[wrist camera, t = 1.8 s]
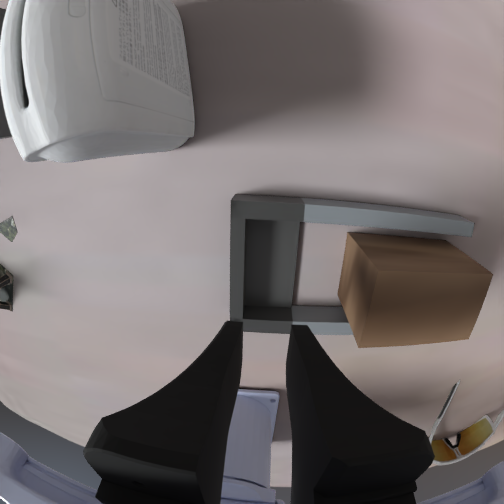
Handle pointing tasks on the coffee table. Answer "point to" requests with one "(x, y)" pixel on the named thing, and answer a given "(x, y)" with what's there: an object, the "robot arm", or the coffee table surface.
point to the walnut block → (409, 290)
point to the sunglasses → (462, 437)
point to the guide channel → (285, 254)
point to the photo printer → (95, 78)
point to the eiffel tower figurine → (3, 279)
